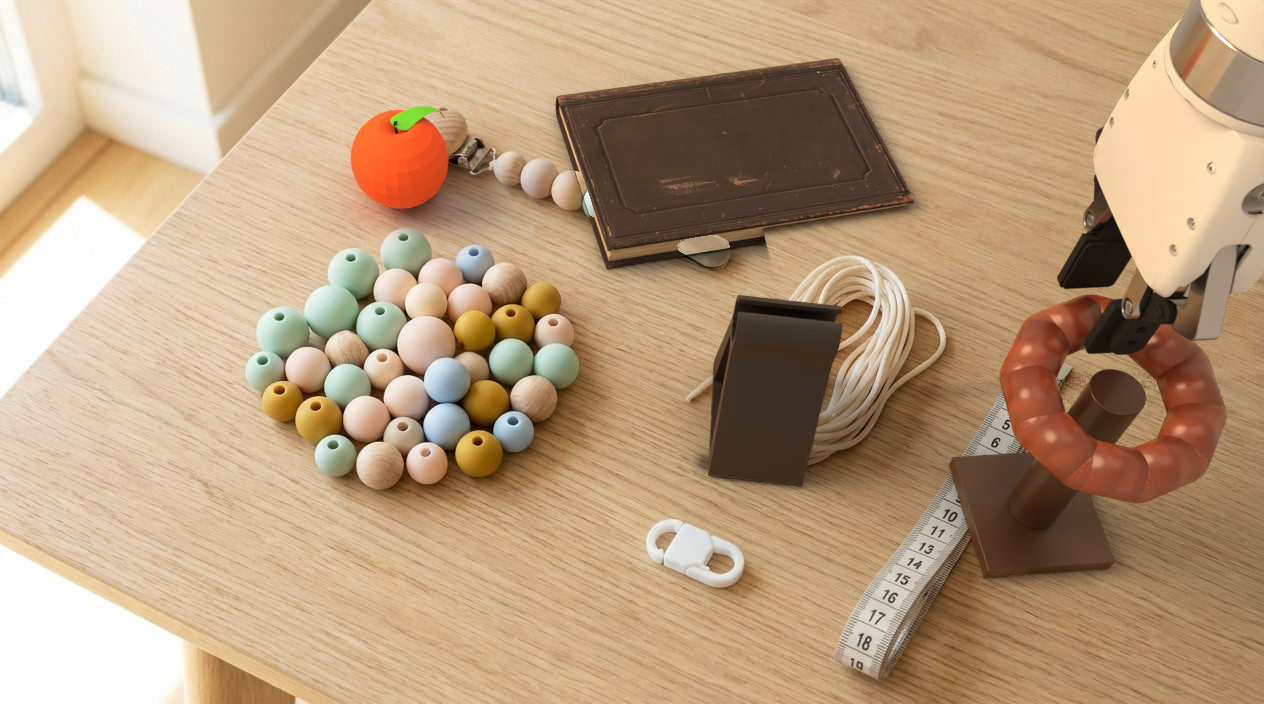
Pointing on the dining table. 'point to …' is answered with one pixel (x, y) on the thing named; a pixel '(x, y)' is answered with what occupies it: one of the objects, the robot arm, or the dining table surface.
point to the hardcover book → (725, 157)
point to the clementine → (400, 157)
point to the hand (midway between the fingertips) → (1098, 313)
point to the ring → (1071, 447)
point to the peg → (1044, 494)
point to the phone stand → (770, 388)
